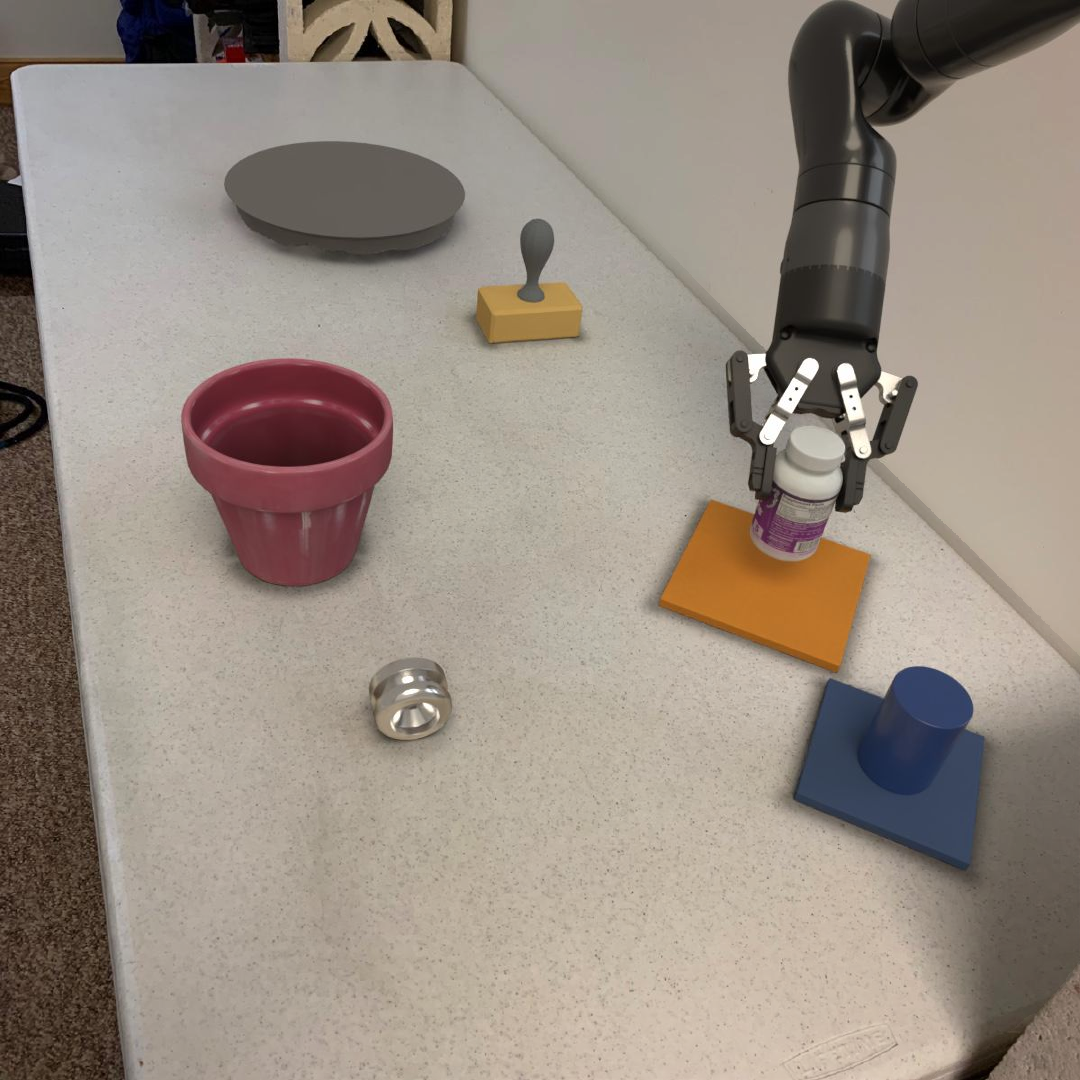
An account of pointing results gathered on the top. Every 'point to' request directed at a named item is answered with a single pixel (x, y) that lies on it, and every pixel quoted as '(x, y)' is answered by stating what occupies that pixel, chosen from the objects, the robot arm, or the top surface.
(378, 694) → the grooved metal pulley
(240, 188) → the flat disc
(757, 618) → the amber mat
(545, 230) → the rubber stamp
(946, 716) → the blue tin
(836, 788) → the blue mat
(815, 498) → the pill bottle
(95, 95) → the top surface
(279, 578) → the flower pot
